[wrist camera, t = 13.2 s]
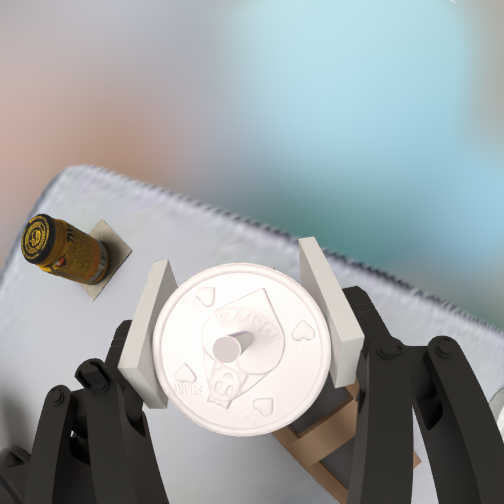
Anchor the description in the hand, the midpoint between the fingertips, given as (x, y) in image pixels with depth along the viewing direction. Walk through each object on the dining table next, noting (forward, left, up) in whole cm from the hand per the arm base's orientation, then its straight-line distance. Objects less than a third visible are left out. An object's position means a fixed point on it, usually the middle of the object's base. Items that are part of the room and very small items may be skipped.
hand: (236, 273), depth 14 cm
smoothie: (-2, -3, -6) cm, 7 cm away
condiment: (-14, +16, -19) cm, 28 cm away
